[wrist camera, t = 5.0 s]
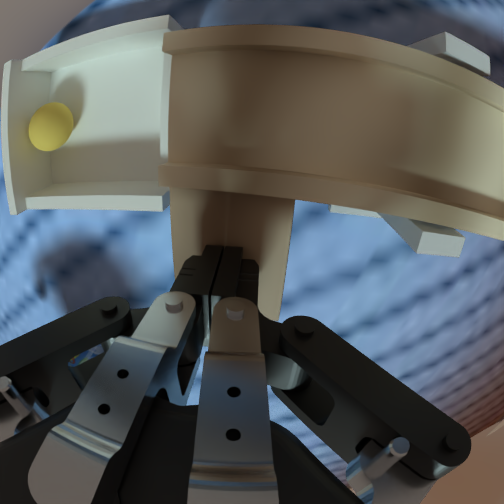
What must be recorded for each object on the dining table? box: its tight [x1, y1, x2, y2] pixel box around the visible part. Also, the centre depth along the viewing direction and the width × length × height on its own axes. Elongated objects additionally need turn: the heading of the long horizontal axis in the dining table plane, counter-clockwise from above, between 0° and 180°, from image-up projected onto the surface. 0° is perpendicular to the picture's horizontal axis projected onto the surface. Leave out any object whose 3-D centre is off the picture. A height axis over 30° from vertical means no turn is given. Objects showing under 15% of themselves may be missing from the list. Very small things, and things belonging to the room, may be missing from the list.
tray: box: [1, 15, 185, 215], centre depth 12 cm, size 11×10×5 cm
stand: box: [328, 32, 490, 257], centre depth 11 cm, size 6×11×8 cm, turn 176°
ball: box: [28, 102, 74, 151], centre depth 13 cm, size 3×3×3 cm
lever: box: [158, 24, 504, 321], centre depth 9 cm, size 22×12×3 cm, turn 86°
